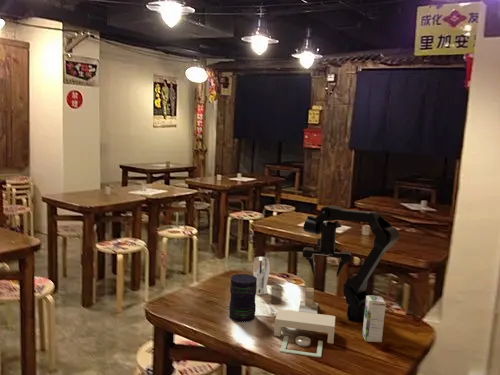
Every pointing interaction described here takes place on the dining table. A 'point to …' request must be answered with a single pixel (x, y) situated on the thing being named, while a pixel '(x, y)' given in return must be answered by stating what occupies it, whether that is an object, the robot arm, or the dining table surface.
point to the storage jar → (242, 298)
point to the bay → (283, 349)
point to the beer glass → (261, 273)
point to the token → (303, 341)
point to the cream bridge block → (305, 322)
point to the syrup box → (373, 319)
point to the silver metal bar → (308, 303)
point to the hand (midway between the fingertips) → (325, 275)
